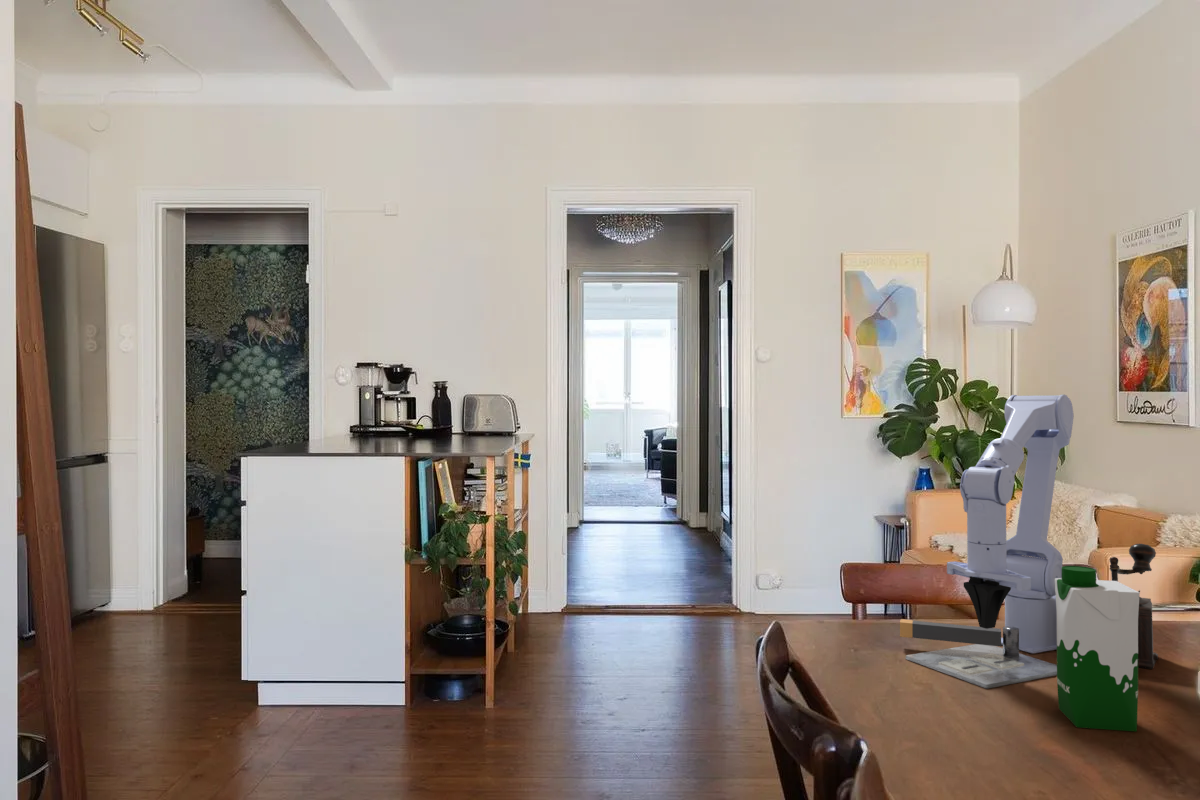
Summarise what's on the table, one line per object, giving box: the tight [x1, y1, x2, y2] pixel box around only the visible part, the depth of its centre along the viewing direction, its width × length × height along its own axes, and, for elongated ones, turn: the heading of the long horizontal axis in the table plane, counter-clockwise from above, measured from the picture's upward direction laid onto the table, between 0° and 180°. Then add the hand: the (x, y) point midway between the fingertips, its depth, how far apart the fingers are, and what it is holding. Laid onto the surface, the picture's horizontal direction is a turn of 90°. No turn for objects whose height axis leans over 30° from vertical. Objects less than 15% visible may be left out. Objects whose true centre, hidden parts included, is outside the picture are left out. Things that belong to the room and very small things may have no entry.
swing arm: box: [899, 618, 1002, 648], centre depth 143 cm, size 16×2×2 cm, turn 67°
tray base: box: [905, 625, 1057, 689], centre depth 135 cm, size 18×16×5 cm
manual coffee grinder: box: [1108, 543, 1159, 670], centre depth 142 cm, size 16×11×18 cm
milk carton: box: [1055, 565, 1141, 732], centre depth 112 cm, size 9×9×20 cm
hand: (987, 627), depth 135 cm, fingers closed
